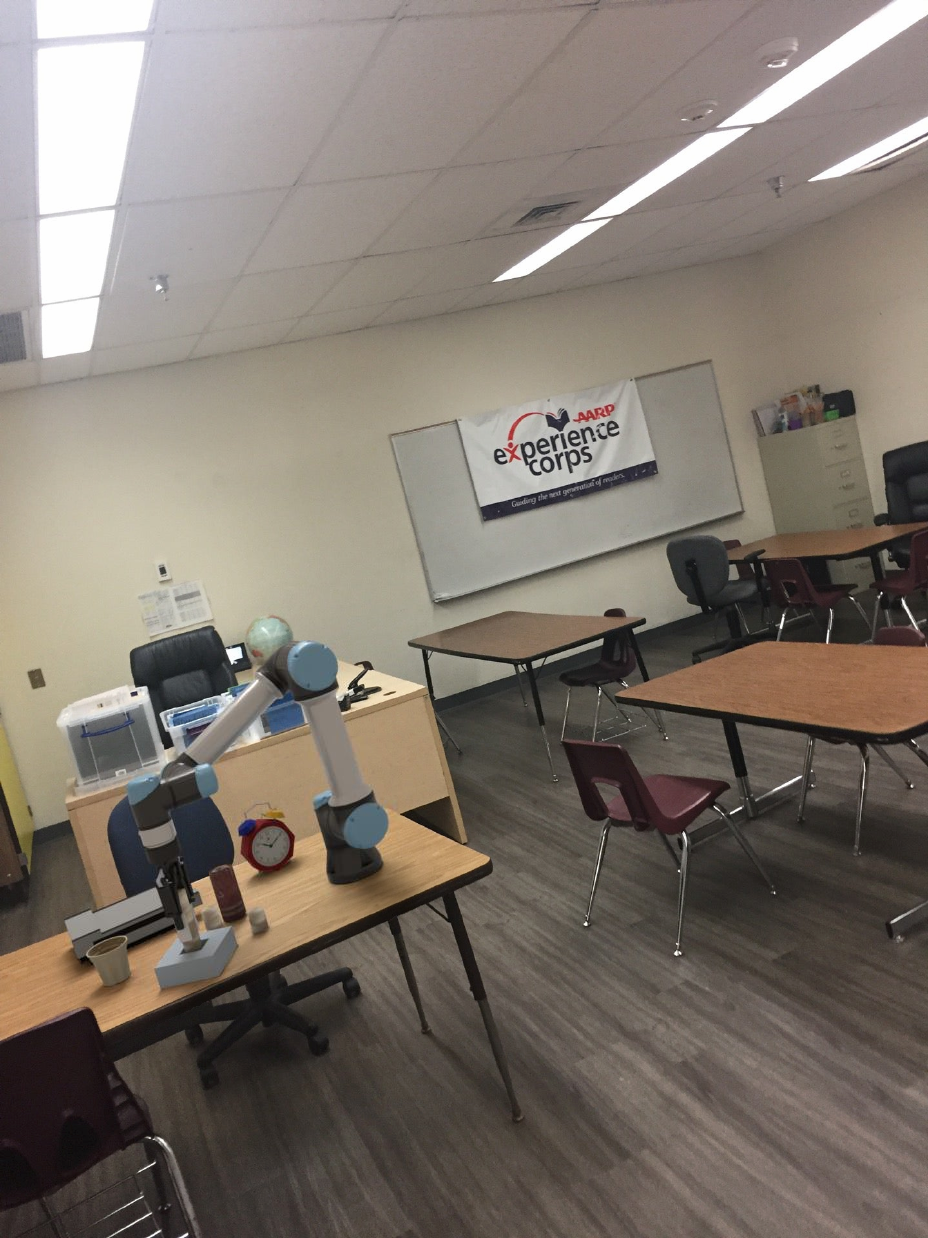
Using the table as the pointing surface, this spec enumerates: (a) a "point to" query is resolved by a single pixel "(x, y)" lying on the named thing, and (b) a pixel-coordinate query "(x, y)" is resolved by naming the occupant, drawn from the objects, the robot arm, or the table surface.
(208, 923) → the dowel medium
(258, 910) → the dowel short
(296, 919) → the table surface
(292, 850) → the alarm clock
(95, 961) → the flower pot
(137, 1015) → the table surface
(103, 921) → the game console
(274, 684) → the robot arm
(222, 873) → the can
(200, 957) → the hole block
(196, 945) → the dowel long
